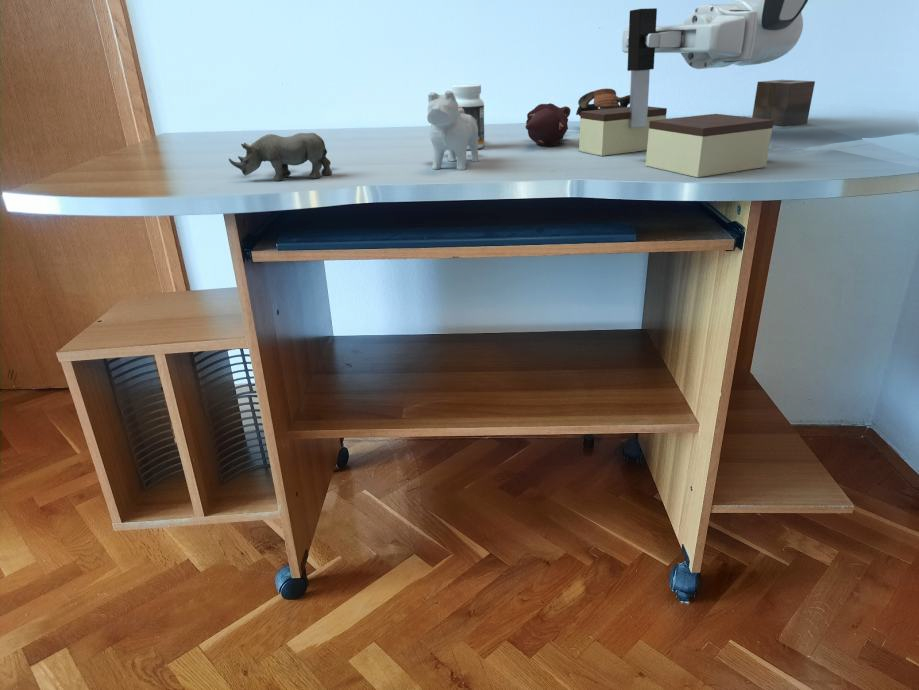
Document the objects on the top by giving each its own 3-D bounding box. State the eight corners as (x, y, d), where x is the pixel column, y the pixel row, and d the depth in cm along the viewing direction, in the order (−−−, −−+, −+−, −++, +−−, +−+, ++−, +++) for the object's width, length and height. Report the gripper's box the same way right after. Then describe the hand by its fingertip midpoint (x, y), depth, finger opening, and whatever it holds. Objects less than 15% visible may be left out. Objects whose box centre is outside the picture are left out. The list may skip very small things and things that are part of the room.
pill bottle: (449, 150, 107) (446, 87, 103) (454, 145, 112) (451, 84, 108) (482, 150, 106) (481, 86, 102) (486, 144, 111) (485, 83, 107)
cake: (766, 167, 86) (774, 120, 83) (697, 177, 81) (703, 128, 79) (710, 156, 94) (716, 113, 91) (645, 165, 89) (649, 120, 87)
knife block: (806, 129, 115) (815, 81, 111) (782, 132, 112) (790, 83, 109) (773, 125, 120) (781, 79, 117) (750, 128, 118) (757, 81, 115)
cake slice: (663, 148, 102) (667, 108, 99) (601, 156, 97) (604, 114, 95) (638, 143, 107) (641, 105, 104) (578, 151, 102) (580, 111, 100)
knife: (650, 126, 97) (657, 8, 91) (635, 128, 96) (640, 8, 90) (640, 125, 99) (646, 10, 93) (624, 127, 98) (629, 10, 92)
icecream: (553, 110, 98) (589, 109, 110) (512, 97, 101) (552, 97, 113) (540, 155, 102) (577, 149, 113) (501, 141, 104) (541, 136, 116)
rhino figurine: (235, 178, 91) (227, 134, 89) (332, 172, 93) (327, 129, 90) (230, 184, 88) (221, 139, 85) (331, 178, 89) (326, 133, 87)
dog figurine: (421, 174, 90) (415, 93, 85) (449, 158, 100) (446, 85, 96) (457, 175, 88) (453, 92, 83) (482, 158, 99) (480, 84, 94)
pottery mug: (579, 135, 120) (571, 93, 121) (584, 151, 129) (577, 112, 130) (644, 117, 117) (635, 74, 117) (645, 134, 126) (637, 94, 126)
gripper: (664, 17, 105) (595, 19, 100) (767, 10, 88) (689, 12, 83) (660, 59, 108) (593, 63, 103) (759, 60, 91) (684, 65, 86)
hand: (637, 40), depth 93 cm, fingers closed on knife, 2 cm apart
